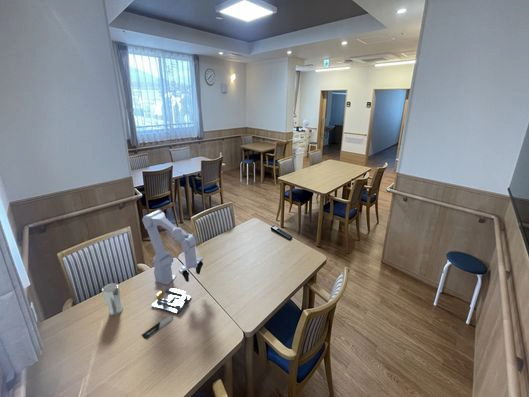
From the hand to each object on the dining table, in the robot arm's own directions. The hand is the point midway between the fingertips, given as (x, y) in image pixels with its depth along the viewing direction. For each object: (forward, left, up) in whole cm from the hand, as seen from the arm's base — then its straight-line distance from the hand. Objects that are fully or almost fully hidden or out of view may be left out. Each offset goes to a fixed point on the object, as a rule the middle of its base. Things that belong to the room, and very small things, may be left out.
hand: (192, 277), depth 137 cm
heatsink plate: (-7, -11, -10) cm, 16 cm away
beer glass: (-30, -24, -10) cm, 40 cm away
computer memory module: (-3, -26, -11) cm, 28 cm away
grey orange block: (-10, -11, -9) cm, 17 cm away
